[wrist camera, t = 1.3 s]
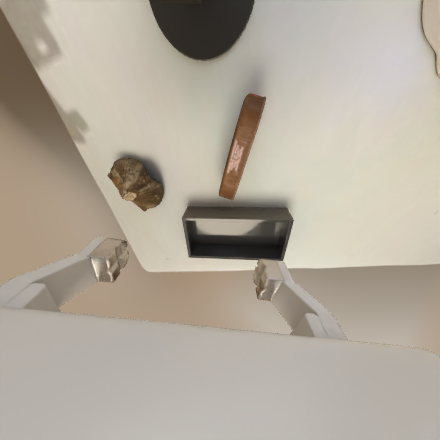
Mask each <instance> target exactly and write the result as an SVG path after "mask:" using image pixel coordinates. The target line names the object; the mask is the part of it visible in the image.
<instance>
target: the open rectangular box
mask: <svg viewBox="0 0 440 440" xmlns="http://www.w3.org/2000/svg"><path fill="white" fill-rule="evenodd" d="M182 221H183V227H184V232H185V238H186V244H187V249H188V255H189V257H192V258H218V259H244V260H259V259H268V260H277V261H283V259H284V255H285V251H286V248H287V244H288V240H289V236H290V232H291V229H292V225H293V221H294V220H293V218H292V216H291V214H290V213H289V211H288V209H287V208H261V207H192V206H188V207H187V209H186V211H185V213H184V215H183V217H182Z"/></svg>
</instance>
